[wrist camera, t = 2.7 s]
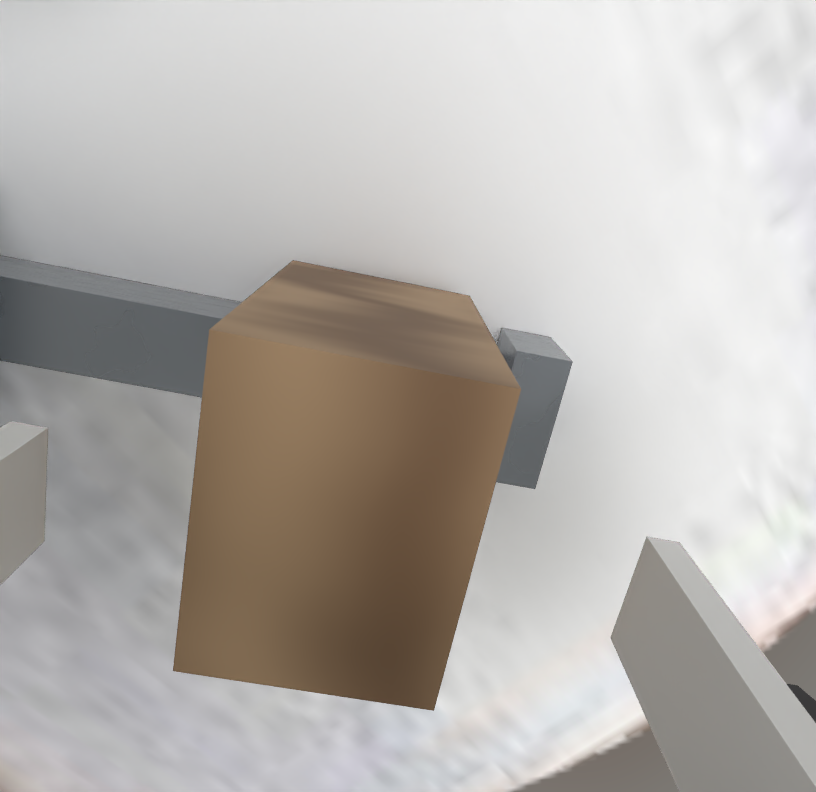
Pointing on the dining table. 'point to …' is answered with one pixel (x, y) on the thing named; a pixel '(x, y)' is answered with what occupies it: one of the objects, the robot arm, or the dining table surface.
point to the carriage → (340, 485)
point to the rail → (188, 339)
